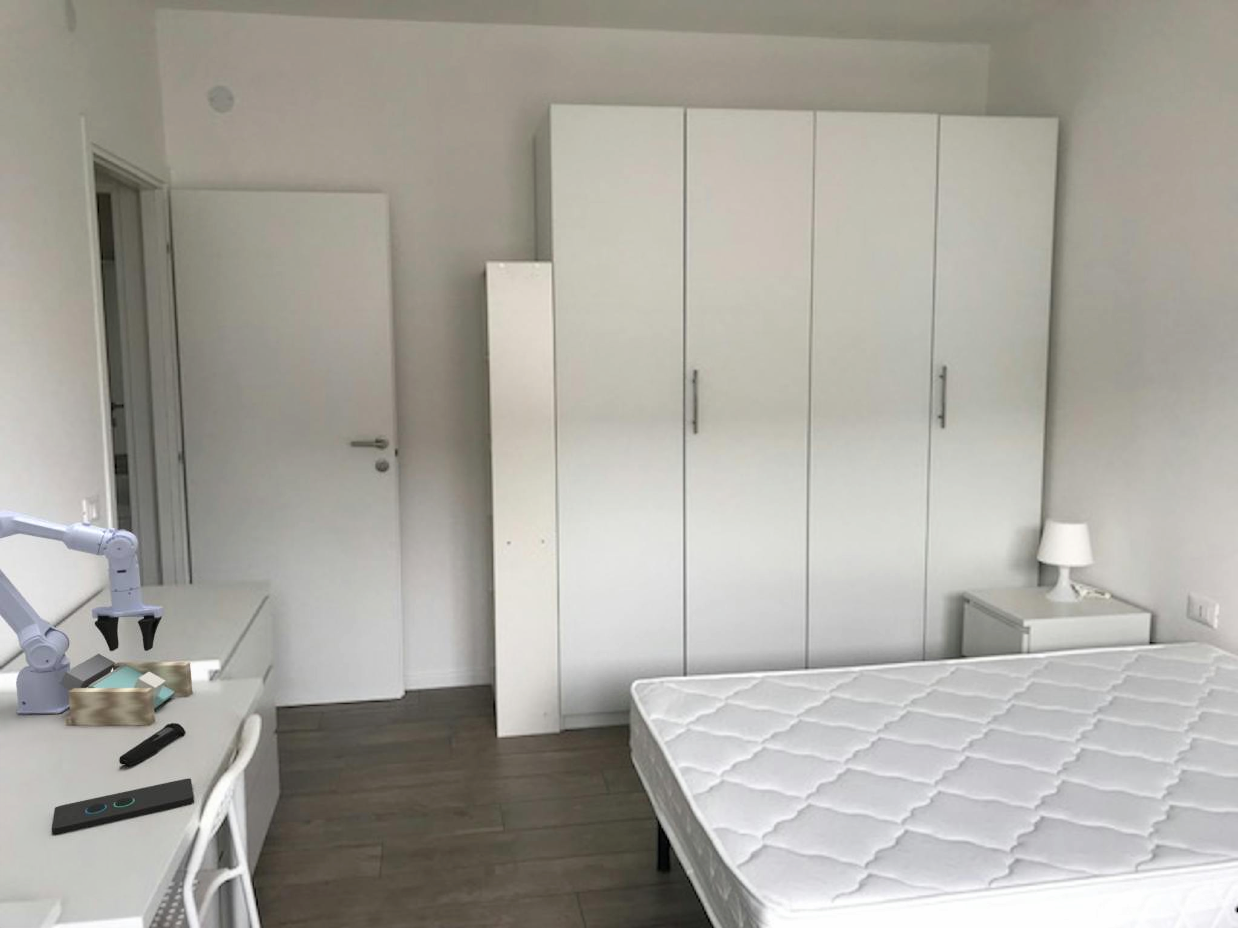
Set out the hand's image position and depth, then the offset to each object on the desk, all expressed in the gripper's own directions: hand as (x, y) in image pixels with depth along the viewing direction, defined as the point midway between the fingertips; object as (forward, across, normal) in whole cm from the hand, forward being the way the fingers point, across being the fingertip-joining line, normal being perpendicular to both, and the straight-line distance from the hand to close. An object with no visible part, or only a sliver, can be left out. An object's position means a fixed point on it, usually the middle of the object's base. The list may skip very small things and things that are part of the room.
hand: (131, 649), depth 196 cm
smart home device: (+11, +26, -48) cm, 56 cm away
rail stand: (+10, +3, -7) cm, 13 cm away
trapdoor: (+8, 0, -7) cm, 10 cm away
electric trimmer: (+11, +19, -27) cm, 34 cm away
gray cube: (+7, +6, -8) cm, 12 cm away
